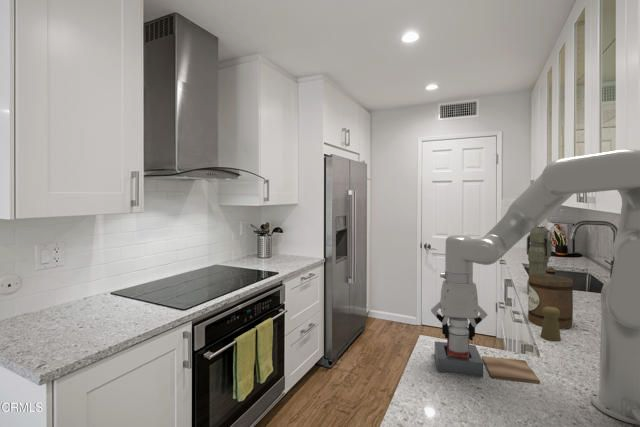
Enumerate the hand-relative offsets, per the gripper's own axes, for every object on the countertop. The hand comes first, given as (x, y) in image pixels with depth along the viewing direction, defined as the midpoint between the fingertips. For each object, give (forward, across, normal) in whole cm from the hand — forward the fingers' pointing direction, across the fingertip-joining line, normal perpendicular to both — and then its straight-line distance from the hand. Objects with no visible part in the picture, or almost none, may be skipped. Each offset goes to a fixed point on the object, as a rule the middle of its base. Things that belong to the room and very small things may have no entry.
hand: (458, 337), depth 103 cm
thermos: (+9, +50, +89) cm, 103 cm away
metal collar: (+8, 0, 0) cm, 8 cm away
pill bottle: (+6, 0, 0) cm, 6 cm away
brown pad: (+8, +14, 0) cm, 16 cm away
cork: (+9, +35, +29) cm, 46 cm away
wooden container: (+9, +41, +46) cm, 62 cm away
